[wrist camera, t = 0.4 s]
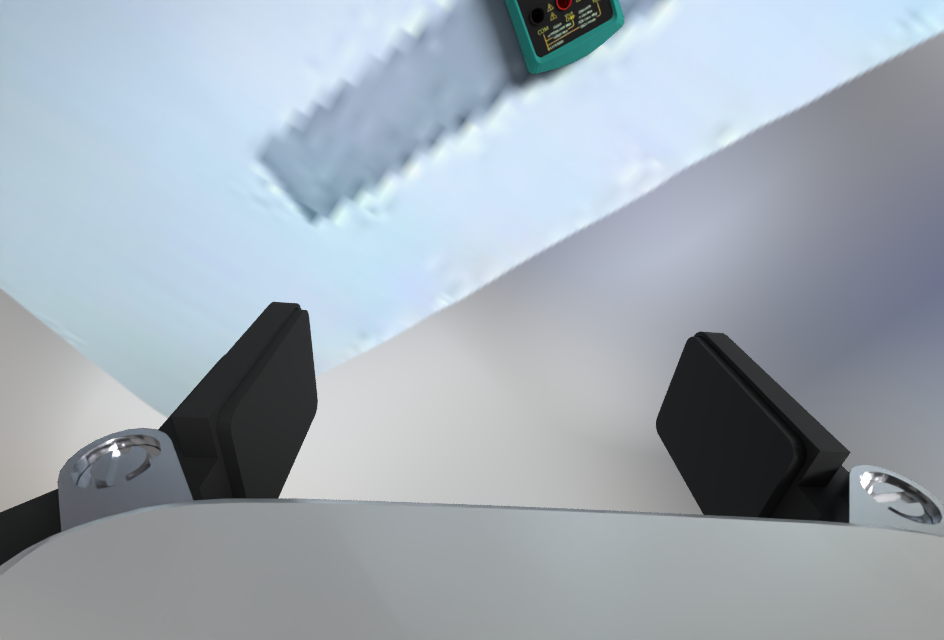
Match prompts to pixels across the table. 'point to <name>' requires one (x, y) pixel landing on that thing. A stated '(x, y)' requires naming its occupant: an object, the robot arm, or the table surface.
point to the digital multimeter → (562, 29)
